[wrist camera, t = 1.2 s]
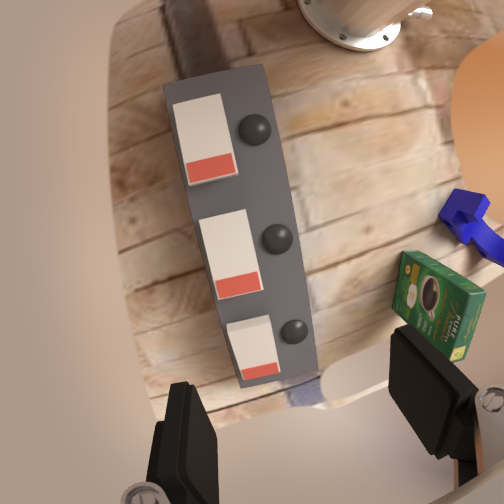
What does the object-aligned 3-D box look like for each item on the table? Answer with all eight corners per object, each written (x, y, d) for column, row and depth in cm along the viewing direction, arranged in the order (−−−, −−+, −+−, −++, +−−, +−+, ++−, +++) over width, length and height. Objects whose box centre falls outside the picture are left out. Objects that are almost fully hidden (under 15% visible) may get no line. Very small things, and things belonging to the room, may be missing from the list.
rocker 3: (267, 310, 30) (271, 323, 28) (277, 360, 33) (281, 372, 31) (226, 320, 30) (227, 333, 28) (241, 368, 33) (243, 381, 31)
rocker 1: (221, 100, 25) (220, 92, 23) (238, 176, 26) (238, 172, 24) (176, 111, 25) (172, 104, 23) (191, 187, 26) (188, 184, 24)
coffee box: (407, 309, 37) (466, 361, 25) (389, 310, 37) (447, 367, 25) (419, 249, 35) (489, 288, 23) (400, 249, 35) (470, 290, 22)
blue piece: (437, 215, 34) (467, 225, 29) (453, 188, 34) (485, 194, 28) (477, 265, 37) (504, 279, 32) (491, 240, 36) (519, 252, 31)
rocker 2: (244, 209, 28) (245, 209, 26) (261, 285, 29) (263, 289, 27) (200, 219, 28) (198, 220, 26) (219, 295, 29) (218, 300, 27)
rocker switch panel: (257, 75, 28) (263, 63, 24) (309, 351, 37) (319, 371, 33) (169, 94, 28) (162, 84, 24) (238, 368, 37) (241, 390, 33)
